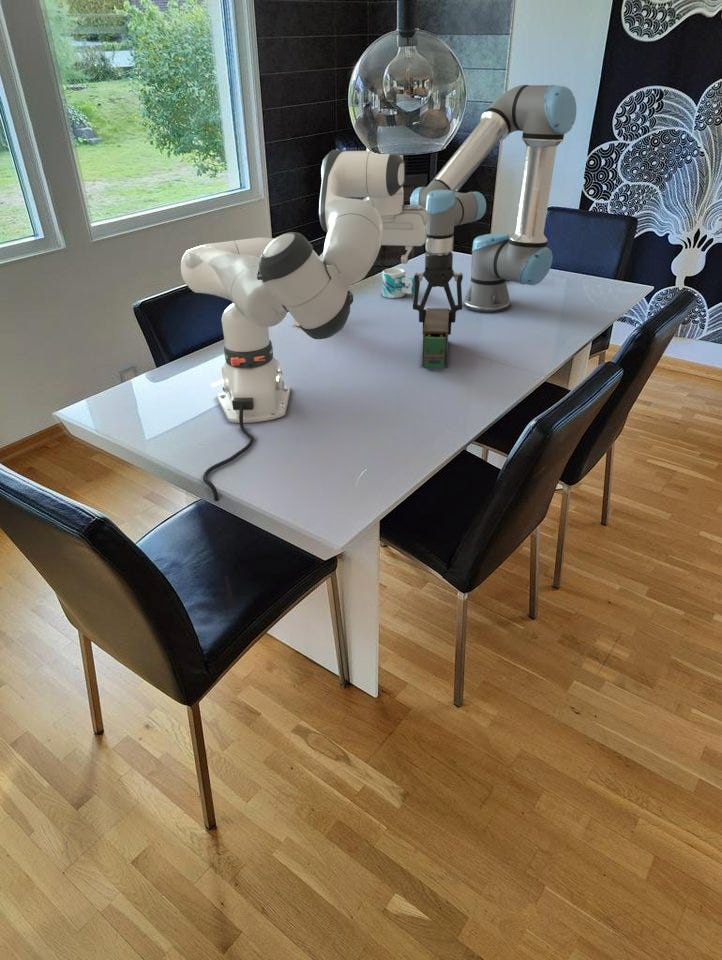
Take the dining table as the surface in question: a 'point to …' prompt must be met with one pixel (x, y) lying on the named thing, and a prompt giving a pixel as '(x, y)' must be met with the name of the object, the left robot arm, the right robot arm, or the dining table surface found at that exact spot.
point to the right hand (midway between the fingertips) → (436, 332)
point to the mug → (396, 283)
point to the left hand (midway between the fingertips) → (386, 262)
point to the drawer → (434, 351)
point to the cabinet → (436, 326)
